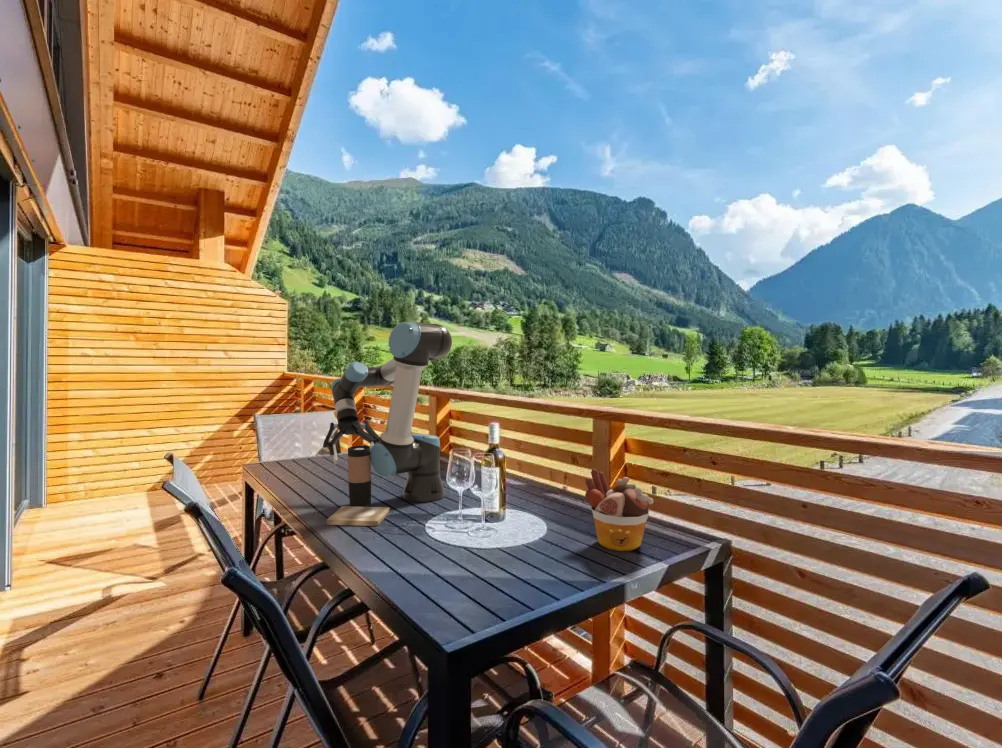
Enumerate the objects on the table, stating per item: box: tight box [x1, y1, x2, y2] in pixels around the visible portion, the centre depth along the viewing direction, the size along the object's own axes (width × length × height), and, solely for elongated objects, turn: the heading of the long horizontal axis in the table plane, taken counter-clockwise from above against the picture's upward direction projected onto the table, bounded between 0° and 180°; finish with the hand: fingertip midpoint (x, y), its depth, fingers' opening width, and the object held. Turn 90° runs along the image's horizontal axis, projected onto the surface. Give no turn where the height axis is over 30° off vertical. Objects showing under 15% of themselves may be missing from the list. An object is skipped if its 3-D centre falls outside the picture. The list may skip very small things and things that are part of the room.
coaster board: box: [326, 505, 390, 527], centre depth 163 cm, size 16×14×2 cm
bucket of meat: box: [584, 468, 654, 552], centre depth 143 cm, size 20×16×20 cm
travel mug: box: [347, 445, 372, 507], centre depth 177 cm, size 8×8×20 cm
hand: (355, 460), depth 180 cm, fingers open, 13 cm apart
